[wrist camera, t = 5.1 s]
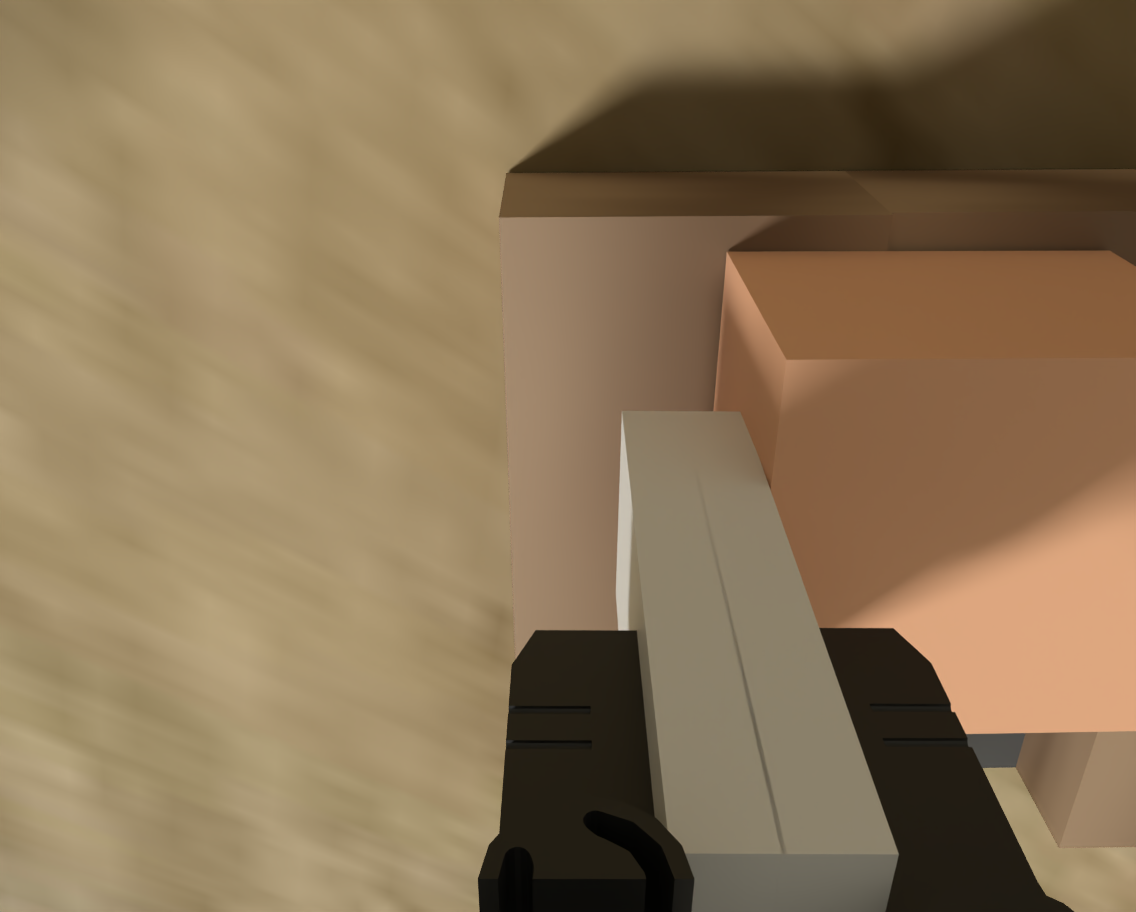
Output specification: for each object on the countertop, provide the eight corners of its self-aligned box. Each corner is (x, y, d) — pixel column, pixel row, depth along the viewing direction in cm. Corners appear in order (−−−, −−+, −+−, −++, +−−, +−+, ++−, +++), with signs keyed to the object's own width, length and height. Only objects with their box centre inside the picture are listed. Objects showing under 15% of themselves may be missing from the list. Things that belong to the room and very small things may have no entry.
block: (699, 570, 15) (740, 737, 12) (726, 251, 13) (785, 360, 10) (1023, 567, 16) (1143, 730, 12) (1109, 250, 13) (1286, 356, 10)
